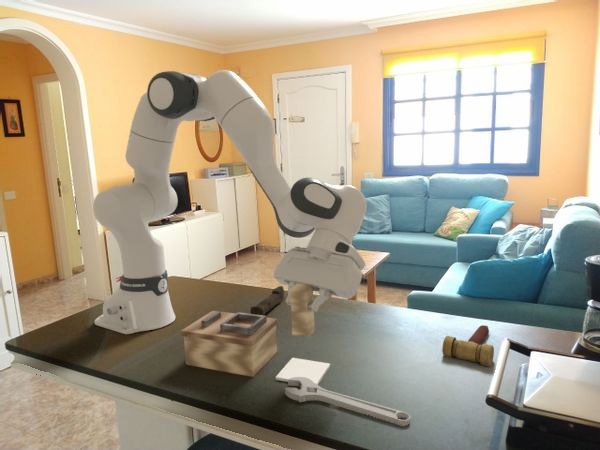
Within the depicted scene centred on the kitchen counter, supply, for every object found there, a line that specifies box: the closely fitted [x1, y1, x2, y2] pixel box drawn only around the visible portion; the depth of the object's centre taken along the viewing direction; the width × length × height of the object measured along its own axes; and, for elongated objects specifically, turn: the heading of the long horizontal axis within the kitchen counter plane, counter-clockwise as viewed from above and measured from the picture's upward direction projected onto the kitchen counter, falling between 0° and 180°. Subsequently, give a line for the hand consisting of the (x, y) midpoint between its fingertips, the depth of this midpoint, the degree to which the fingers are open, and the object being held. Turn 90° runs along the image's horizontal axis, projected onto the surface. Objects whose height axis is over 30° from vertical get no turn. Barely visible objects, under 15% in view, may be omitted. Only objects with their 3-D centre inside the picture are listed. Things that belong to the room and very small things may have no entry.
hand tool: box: [249, 285, 285, 316], centre depth 133 cm, size 19×4×5 cm, turn 156°
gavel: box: [441, 324, 495, 368], centre depth 105 cm, size 21×5×10 cm
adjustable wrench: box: [284, 377, 411, 427], centre depth 82 cm, size 25×6×2 cm, turn 55°
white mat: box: [275, 357, 331, 386], centre depth 94 cm, size 9×9×1 cm
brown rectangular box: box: [180, 310, 278, 377], centre depth 101 cm, size 18×13×10 cm
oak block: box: [290, 284, 315, 338], centre depth 92 cm, size 4×4×10 cm
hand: (300, 307), depth 91 cm, fingers closed on oak block, 4 cm apart
